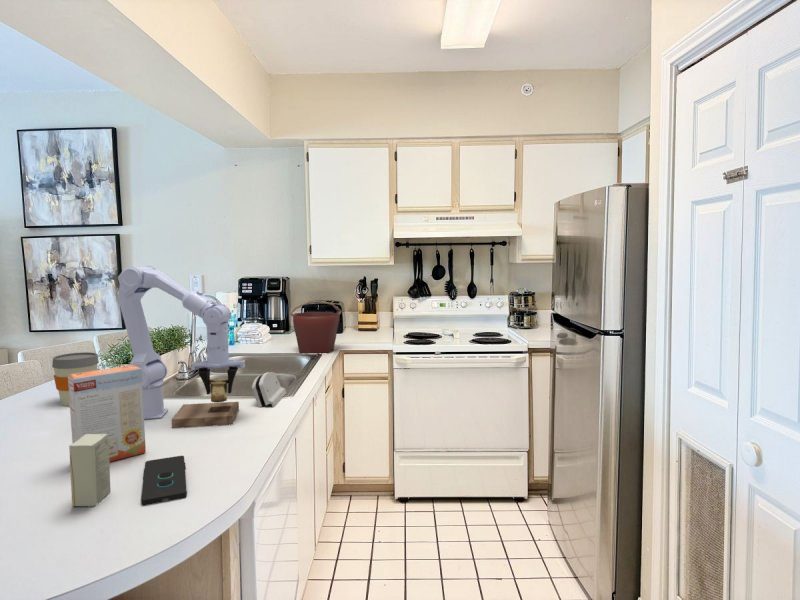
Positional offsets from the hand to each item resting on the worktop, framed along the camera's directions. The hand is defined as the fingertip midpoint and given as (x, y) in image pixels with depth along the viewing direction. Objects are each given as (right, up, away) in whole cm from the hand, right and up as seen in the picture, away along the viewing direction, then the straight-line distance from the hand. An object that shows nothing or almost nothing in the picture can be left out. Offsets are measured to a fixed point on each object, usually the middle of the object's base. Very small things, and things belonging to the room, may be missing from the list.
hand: (219, 392), depth 145 cm
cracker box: (-15, -10, -29) cm, 34 cm away
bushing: (0, -2, 0) cm, 2 cm away
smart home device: (+3, -12, -40) cm, 42 cm away
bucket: (+11, +1, +102) cm, 103 cm away
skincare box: (-7, -12, -48) cm, 50 cm away
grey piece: (+10, -6, +19) cm, 22 cm away
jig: (-3, -7, 0) cm, 8 cm away
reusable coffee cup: (-51, -6, +16) cm, 54 cm away
